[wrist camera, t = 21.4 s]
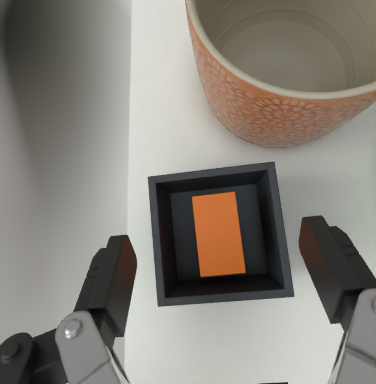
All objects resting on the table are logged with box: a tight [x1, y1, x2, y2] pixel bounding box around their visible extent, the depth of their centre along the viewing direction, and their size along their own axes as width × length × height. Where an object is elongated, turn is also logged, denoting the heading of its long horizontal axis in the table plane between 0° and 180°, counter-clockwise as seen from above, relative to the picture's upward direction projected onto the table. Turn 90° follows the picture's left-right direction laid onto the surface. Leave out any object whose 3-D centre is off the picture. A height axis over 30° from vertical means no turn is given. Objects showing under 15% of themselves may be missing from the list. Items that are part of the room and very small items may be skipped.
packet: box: [192, 192, 246, 277], centre depth 31 cm, size 4×8×10 cm, turn 6°
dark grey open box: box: [148, 162, 294, 307], centre depth 32 cm, size 14×14×10 cm
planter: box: [185, 0, 376, 147], centre depth 30 cm, size 21×21×19 cm
